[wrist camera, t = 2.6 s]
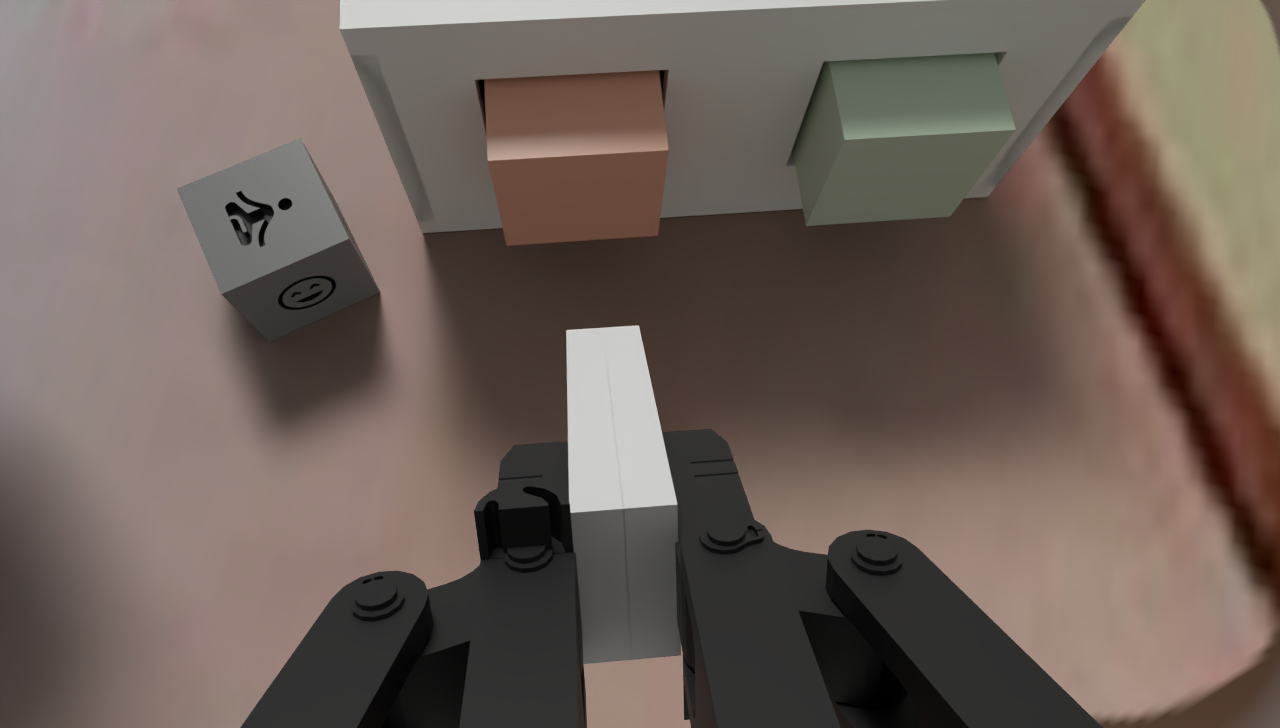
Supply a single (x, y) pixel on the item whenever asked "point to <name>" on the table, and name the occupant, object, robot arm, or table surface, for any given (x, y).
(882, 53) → the box
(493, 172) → the terracotta button
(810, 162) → the sage button
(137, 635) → the table surface
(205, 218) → the dice cube
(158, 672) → the table surface
